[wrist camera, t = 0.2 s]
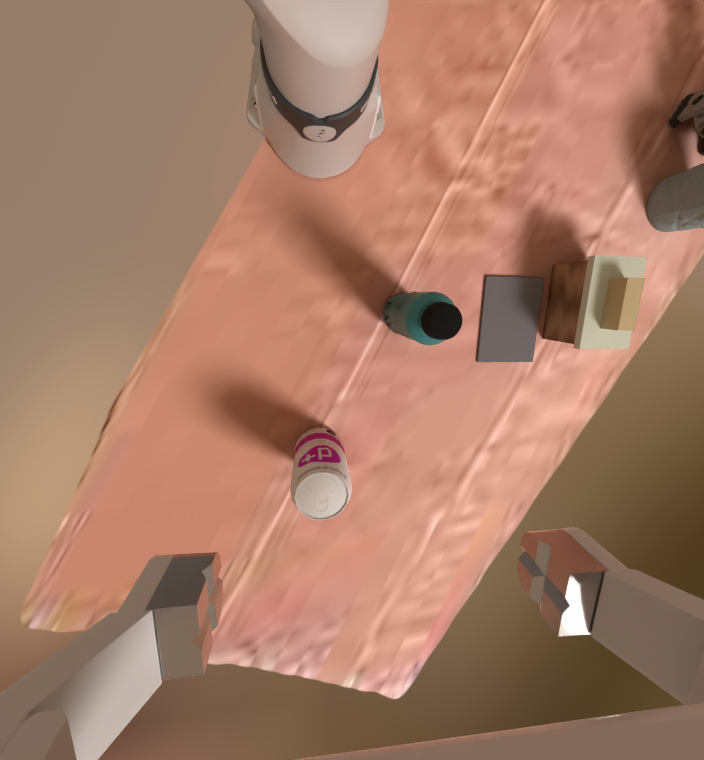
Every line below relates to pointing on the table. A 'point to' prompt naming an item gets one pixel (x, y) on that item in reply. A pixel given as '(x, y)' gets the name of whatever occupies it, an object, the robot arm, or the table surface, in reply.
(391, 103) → the table surface
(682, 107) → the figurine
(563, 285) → the box
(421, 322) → the beverage bottle
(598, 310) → the lid
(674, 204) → the gray embossed pot
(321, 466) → the supplement can
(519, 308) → the mat
